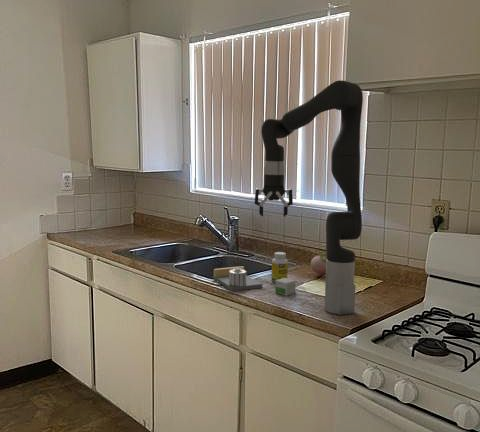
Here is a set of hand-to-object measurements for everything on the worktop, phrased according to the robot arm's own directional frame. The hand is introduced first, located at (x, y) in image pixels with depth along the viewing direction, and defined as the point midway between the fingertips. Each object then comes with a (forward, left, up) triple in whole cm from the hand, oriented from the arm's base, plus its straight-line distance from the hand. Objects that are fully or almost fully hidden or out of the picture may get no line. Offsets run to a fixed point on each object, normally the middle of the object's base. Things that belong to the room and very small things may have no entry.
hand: (273, 216), depth 187 cm
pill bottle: (+8, -8, -28) cm, 30 cm away
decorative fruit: (+8, -28, -28) cm, 41 cm away
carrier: (+11, +10, -28) cm, 32 cm away
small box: (-7, -2, -28) cm, 29 cm away
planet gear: (+6, +12, -27) cm, 30 cm away
